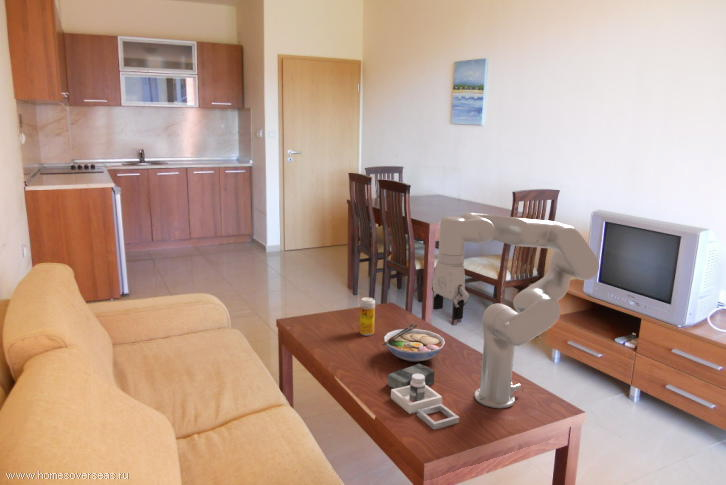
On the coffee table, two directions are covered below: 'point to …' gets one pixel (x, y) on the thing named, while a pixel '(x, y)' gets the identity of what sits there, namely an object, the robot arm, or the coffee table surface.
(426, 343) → the ramen bowl
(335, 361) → the coffee table surface
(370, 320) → the glass of beer
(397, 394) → the tray
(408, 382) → the stone block
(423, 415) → the square open frame
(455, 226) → the robot arm
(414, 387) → the pill bottle
